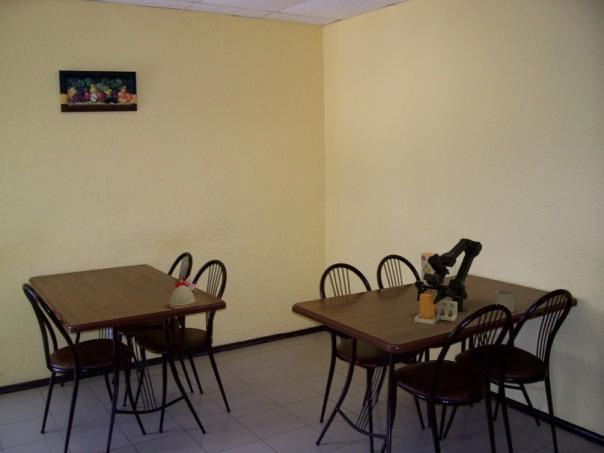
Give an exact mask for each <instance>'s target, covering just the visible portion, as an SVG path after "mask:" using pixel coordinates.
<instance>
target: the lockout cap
mask: <svg viewBox="0 0 604 453" xmlns="http://www.w3.org/2000/svg"><path fill="white" fill-rule="evenodd" d="M435 298H436V295H435V293H430V292H425V293H423V294H420V300H419V314H420V318H425V319H433V318H434V316H435V305H434V304H433V302H434V300H435Z"/></svg>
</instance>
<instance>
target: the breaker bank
mask: <svg viewBox="0 0 604 453" xmlns="http://www.w3.org/2000/svg"><path fill="white" fill-rule="evenodd" d="M435 315H439V320H444V321H451V322H454V321H455V320H457V318H458V311H457V302H452V300H451V301H450V300H444V299H442V300H441V301H439V302H438V303H436V304H435Z"/></svg>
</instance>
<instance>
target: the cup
mask: <svg viewBox="0 0 604 453" xmlns="http://www.w3.org/2000/svg"><path fill="white" fill-rule="evenodd" d="M497 304H501V305H504V306H505V307H507V308H508V309H509V310H510V311H511V312H512V314H514V313H515V291H512V290H511V291H510V290H498V291H496V305H497ZM513 312H514V313H513Z"/></svg>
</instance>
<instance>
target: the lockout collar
mask: <svg viewBox="0 0 604 453" xmlns="http://www.w3.org/2000/svg"><path fill="white" fill-rule="evenodd" d="M439 321H440V319H439V315H435V316H434V318H433V319H425V318H420V313H419V314H417V315H416V316H414V322H415V323H422V324H429V325H434V324H436V323H437V322H439Z"/></svg>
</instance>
